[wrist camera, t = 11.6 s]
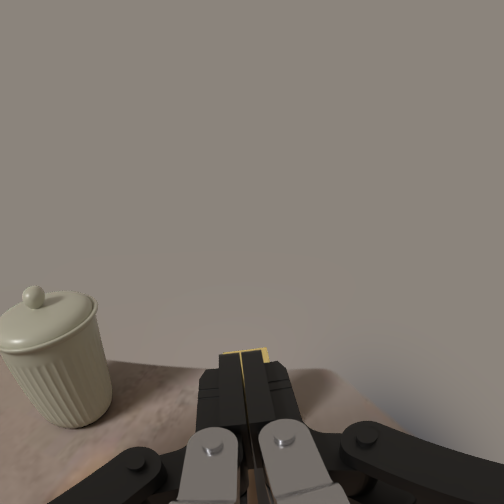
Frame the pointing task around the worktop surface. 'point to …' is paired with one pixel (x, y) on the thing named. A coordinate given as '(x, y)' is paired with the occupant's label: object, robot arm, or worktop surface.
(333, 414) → the worktop surface
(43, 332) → the canister
